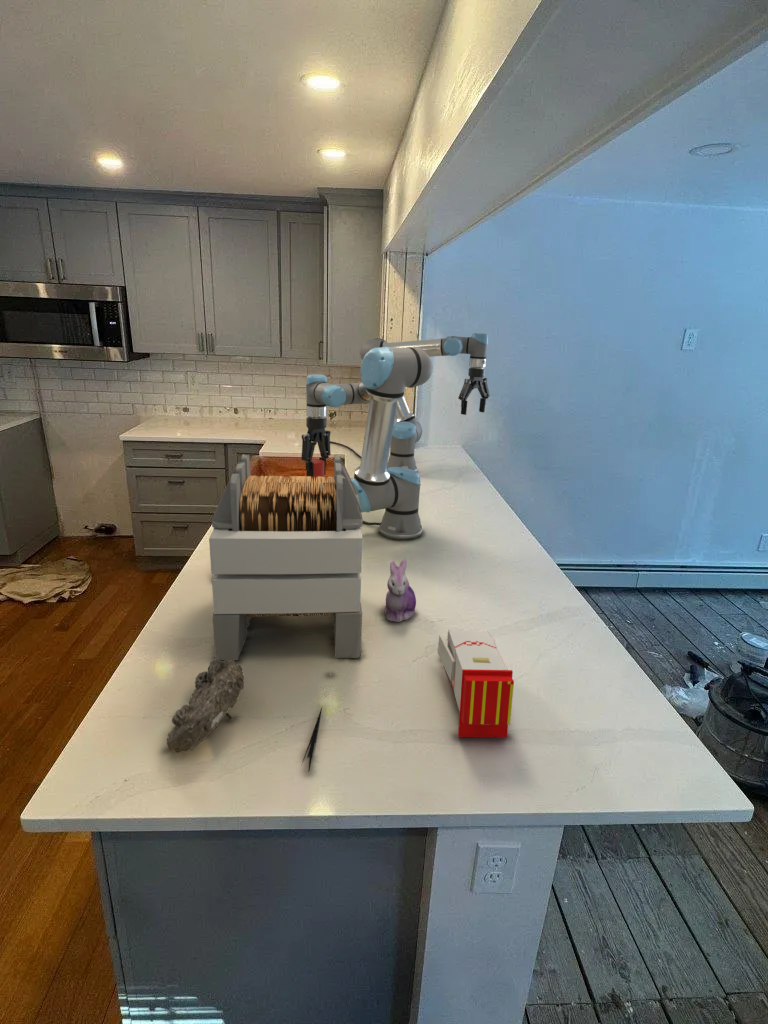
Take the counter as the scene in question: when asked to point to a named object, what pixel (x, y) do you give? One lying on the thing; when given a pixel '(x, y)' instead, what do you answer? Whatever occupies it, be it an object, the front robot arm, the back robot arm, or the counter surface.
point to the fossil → (206, 705)
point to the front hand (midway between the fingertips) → (316, 475)
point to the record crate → (286, 555)
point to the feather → (313, 740)
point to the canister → (318, 468)
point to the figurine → (399, 594)
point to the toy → (478, 682)
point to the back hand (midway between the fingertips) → (472, 413)
